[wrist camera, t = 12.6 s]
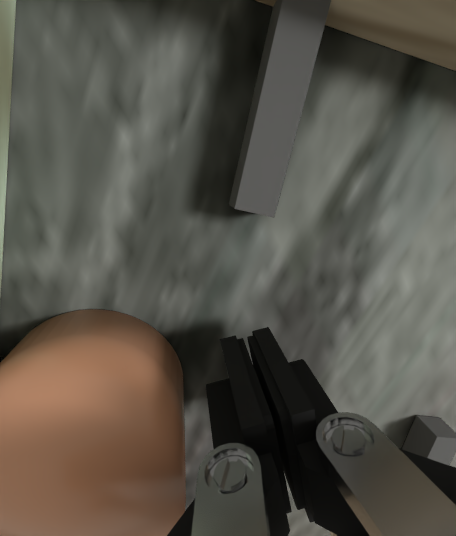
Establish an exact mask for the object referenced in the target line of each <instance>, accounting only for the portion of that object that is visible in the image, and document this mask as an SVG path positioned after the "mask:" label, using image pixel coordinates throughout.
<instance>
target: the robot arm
mask: <svg viewBox="0 0 456 536" xmlns="http://www.w3.org/2000/svg"><path fill="white" fill-rule="evenodd" d="M252 333H253V336H249V337H248V343H249V348H250V353H251V357H252V361H251V359H250V356H249V353H248V351H247V348H246V345H245V343H244V340H243V338H241V339H237V338H236V336H232V337H228V338H224V339H220V342H221V346H222V350H223V354H224V358H225V363H226V367H227V371H228V375H229V379H225V380H221V381H218V382H214V383H210V384H206V390H207V398H208V406H209V414H210V422H211V431H212V439H213V447H214V449H213V450H212V451H211V452H210V453H209V454H208V455H207V456H205V458H204V459H203V461H202V463H201V464H200V467H199V471H198V476H197V485H196V495H195V499H194V500H193V502H192V503H191V504H190V506H189V507H188V508H187V510H186V511H185V512H184V514H183V515H182V516H181V518H180V519H179V520H178V521H177V523H176V524H175V525H174V527H173V528H172V529H171V531H170V532H169V533H168V535H167V536H288V534H289V532H290V529H289V524H288V519H287V514H286V513H290V512H291V506H290V501H289V496H288V491H287V486H286V480H285V476H286V479H287V481H288V484H289V487H290V490H291V493H292V496H293V499H294V502H295V505H296V507H297V509H298V510H300V509H303V508H305V510H306V513H307V516H308V518H309V521H310V522H314V521H315V523H316V524H318V525H320V526H322V527H323V528H325V529H327V530H329V531H330V533H331V536H456V468H455V467H452V466H449V465H446V464H443V463H440V462H437V461H434V460H431V459H429V458H426V457H423V456H420V455H417V454H414V453H411V452H408V451H405V450H402V449H399V448H398V447H397V446H396V445H395V444H394V443H393V442H392V441H391V440H390V439H389V438H388V437H387V436H386V435H385V434H384V433H383V432H382V431H381V430H380V429H379V428H378V427H377V426H376V425H375V424H373V423H372V422H371V421H369V420H368V419H367V418H365V417H363V416H360V415H358V414H354V413H349V412H342V413H338V412H337V410H336V408H335V407H334V405H333V404H332V402H331V401H330V399H329V398H328V396H327V395H326V393H325V392H324V390H323V388H322V387H321V385H320V384H319V382H318V381H317V379H316V378H315V376H314V375H313V373H312V372H311V370H310V368H309V367H308V365H307V364H306V362H305V361H304V360H303V359H301V360H297V361H293V362H290V363H288V361H287V359H286V358H285V356H284V354H283V352H282V350H281V349H280V347H279V345H278V343H277V342H276V340H275V338H274V336H273V334H272V333H271V331H270V329H269V328H268V327H267V328H263V329H259V330H255V331H253V332H252ZM252 362H253V364H252ZM284 473H285V475H284Z"/></svg>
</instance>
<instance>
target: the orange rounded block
mask: <svg viewBox="0 0 456 536" xmlns="http://www.w3.org/2000/svg"><path fill="white" fill-rule="evenodd" d="M185 503H186V480H185V424H184V379H183V371H182V367H181V363H180V361H179V358H178V356H177V354H176V352H175V351H174V349H173V347H172V346H171V345H170V343H169V342H168V341H167V340H166V338H165V337H163V336H162V335H161V334H160V333H159V332H158V331H157V330H156V329H154V328H153V327H151V326H150V325H149V324H147V323H145V322H143V321H141V320H140V319H137V318H135V317H132V316H130V315H127V314H124V313H120V312H116V311H110V310H101V309H87V310H77V311H72V312H68V313H64V314H61V315H58V316H55V317H53V318H51V319H49V320H47V321H44V322H43V323H41V324H40V325H38V326H37V327H35V328H34V329H32V330H31V331H30V332H29V333H28V334H27V335H26V336H25V337H24V338H23V339H22V340H21V341H20V342H19V343H18V344H17V345H16V346H15V347H14V348H13V349H12V351H11V352H10V353H9V354H8V355H7V356H6V357H5V358H4V359H3V360H2V361H1V362H0V536H167V535H168V533H169V532H170V531H171V529H172V528H173V527H174V525H175V524H176V523H177V521H178V520H179V519H180V518H181V516H182V515H183V514H184V512H185Z"/></svg>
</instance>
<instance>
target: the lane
mask: <svg viewBox="0 0 456 536" xmlns="http://www.w3.org/2000/svg"><path fill="white" fill-rule="evenodd" d="M255 1H258V2H261V3H264V4H267V5H270V6H272V7H273V6H274V4H275V2H276V1H277V0H255ZM15 10H16V0H0V296H1V277H2V258H3V239H4V220H5V201H6V182H7V163H8V144H9V125H10V105H11V86H12V67H13V48H14V29H15ZM325 25H326V26H329V27H332V28H335V29H338V30H341V31H343V32H346V33H349V34H352V35H355V36H358V37H360V38H363V39H366V40H369V41H372V42H375V43H377V44H380V45H383V46H386V47H389V48H392V49H394V50H397V51H400V52H403V53H406V54H409V55H411V56H414V57H417V58H420V59H423V60H426V61H429V62H431V63H434V64H437V65H440V66H443V67H446V68H448V69H451V70H454V71H456V0H331V4H330V8H329V11H328V15H327V19H326V23H325Z"/></svg>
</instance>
